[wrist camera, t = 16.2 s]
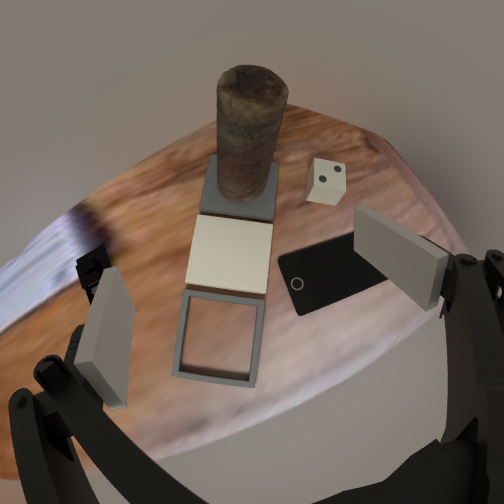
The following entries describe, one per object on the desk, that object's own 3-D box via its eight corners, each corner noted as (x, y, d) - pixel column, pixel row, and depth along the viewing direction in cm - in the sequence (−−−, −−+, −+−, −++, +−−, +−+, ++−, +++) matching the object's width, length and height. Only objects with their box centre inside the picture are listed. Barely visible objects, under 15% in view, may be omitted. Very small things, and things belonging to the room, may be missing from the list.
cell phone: (275, 259, 42) (276, 258, 41) (374, 226, 45) (377, 224, 44) (297, 317, 40) (299, 316, 39) (395, 275, 43) (398, 274, 42)
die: (305, 200, 45) (314, 184, 40) (306, 174, 47) (314, 157, 42) (335, 205, 45) (346, 190, 40) (335, 179, 47) (345, 163, 42)
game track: (173, 375, 36) (171, 376, 35) (211, 158, 46) (211, 154, 45) (253, 386, 36) (254, 387, 35) (277, 166, 46) (278, 162, 45)
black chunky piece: (133, 307, 39) (122, 303, 34) (93, 327, 37) (79, 325, 33) (106, 235, 41) (95, 224, 37) (70, 255, 40) (56, 246, 36)
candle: (256, 159, 45) (271, 59, 26) (274, 196, 43) (303, 100, 24) (210, 172, 44) (203, 71, 25) (226, 212, 42) (226, 116, 23)
